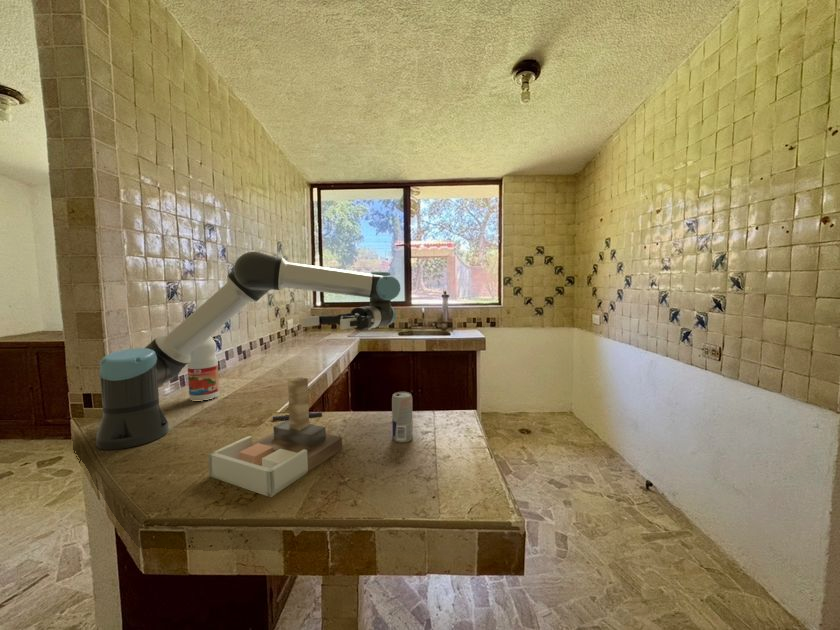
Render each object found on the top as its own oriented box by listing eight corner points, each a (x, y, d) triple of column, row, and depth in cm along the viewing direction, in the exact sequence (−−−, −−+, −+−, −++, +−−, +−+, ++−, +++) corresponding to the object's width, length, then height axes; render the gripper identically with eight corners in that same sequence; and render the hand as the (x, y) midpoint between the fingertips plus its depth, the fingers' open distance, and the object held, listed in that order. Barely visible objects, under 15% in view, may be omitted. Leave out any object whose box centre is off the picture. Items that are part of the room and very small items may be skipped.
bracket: (322, 403, 123) (322, 395, 123) (322, 418, 109) (321, 409, 108) (278, 407, 119) (278, 399, 119) (272, 423, 105) (272, 414, 105)
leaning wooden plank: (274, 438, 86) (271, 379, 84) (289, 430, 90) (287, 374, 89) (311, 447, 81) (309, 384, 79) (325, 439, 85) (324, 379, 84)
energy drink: (399, 432, 96) (399, 390, 95) (416, 437, 93) (416, 393, 92) (388, 440, 91) (387, 395, 90) (405, 444, 88) (404, 399, 88)
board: (250, 456, 83) (249, 443, 83) (288, 436, 94) (287, 425, 94) (307, 472, 75) (307, 458, 75) (342, 449, 86) (341, 437, 86)
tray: (209, 476, 74) (208, 454, 74) (250, 456, 83) (249, 435, 83) (270, 497, 66) (269, 472, 66) (307, 472, 75) (307, 450, 75)
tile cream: (262, 471, 74) (261, 458, 74) (280, 461, 79) (280, 448, 78) (279, 477, 72) (279, 463, 72) (297, 465, 77) (296, 452, 76)
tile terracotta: (239, 465, 77) (238, 452, 77) (258, 455, 82) (257, 443, 81) (255, 469, 75) (254, 456, 75) (273, 459, 79) (273, 446, 79)
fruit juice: (224, 393, 133) (220, 321, 131) (211, 401, 123) (207, 323, 121) (198, 394, 132) (194, 321, 130) (183, 402, 123) (179, 324, 120)
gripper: (397, 331, 109) (358, 339, 90) (334, 327, 120) (287, 334, 101) (398, 307, 109) (358, 311, 90) (334, 305, 119) (287, 308, 100)
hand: (321, 323), depth 95 cm, fingers open, 13 cm apart
